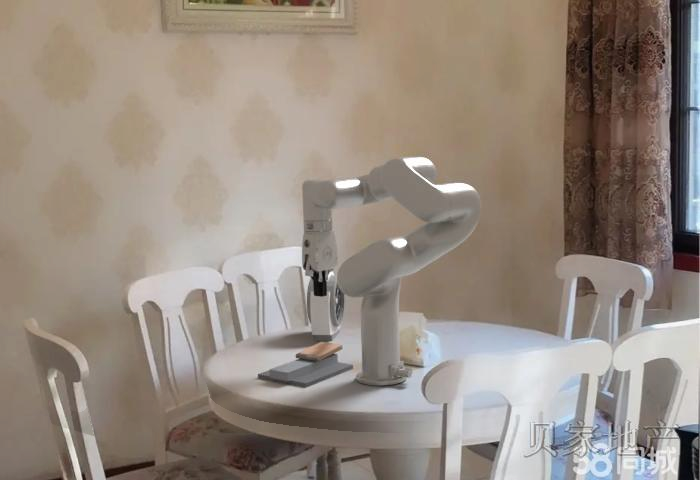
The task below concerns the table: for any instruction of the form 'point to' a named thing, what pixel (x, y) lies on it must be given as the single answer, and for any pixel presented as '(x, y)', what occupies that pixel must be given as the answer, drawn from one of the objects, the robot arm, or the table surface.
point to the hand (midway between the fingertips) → (320, 295)
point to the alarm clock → (326, 310)
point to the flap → (319, 351)
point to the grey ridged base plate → (306, 371)
